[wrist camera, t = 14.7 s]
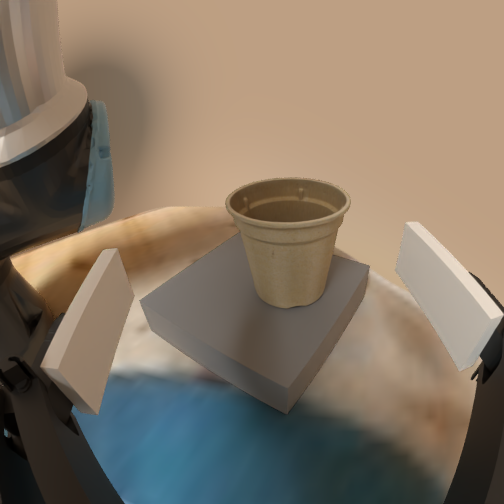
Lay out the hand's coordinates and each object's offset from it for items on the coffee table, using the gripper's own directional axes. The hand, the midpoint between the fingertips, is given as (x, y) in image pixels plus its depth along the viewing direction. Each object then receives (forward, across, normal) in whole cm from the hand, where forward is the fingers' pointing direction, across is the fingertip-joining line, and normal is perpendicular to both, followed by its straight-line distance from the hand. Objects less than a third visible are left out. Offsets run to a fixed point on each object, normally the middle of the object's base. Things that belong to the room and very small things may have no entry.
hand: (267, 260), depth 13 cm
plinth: (+11, 0, -14) cm, 17 cm away
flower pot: (+10, +3, -10) cm, 14 cm away
